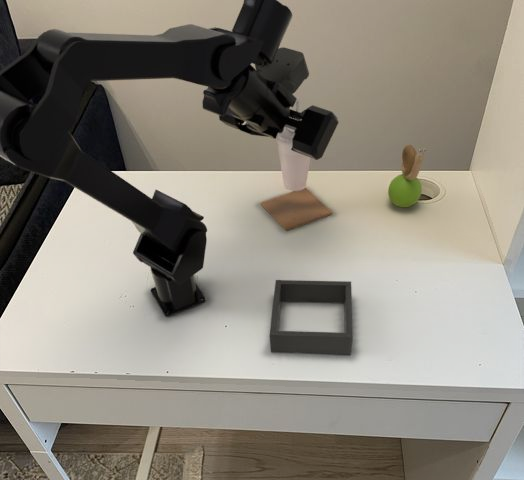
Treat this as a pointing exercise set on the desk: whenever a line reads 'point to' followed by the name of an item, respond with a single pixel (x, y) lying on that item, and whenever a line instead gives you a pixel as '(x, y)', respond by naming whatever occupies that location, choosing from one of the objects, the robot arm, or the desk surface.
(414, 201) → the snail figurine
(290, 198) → the coaster
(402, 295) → the desk surface
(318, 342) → the dark grey square frame
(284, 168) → the smoothie
